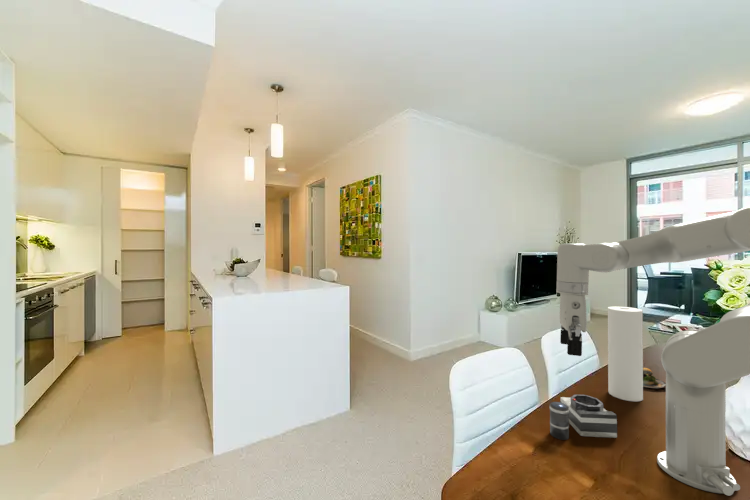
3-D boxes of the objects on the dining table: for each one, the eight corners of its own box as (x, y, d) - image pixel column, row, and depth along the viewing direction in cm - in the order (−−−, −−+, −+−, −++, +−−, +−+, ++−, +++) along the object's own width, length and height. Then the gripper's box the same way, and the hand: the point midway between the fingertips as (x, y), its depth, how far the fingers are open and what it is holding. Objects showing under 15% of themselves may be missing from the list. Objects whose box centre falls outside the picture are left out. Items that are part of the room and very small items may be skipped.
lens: (572, 440, 86) (572, 409, 86) (554, 439, 86) (553, 408, 86) (564, 430, 90) (564, 401, 90) (546, 429, 91) (546, 400, 91)
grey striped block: (617, 437, 87) (617, 410, 86) (580, 436, 88) (580, 409, 87) (591, 414, 99) (591, 391, 99) (560, 413, 100) (560, 389, 99)
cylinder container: (649, 402, 106) (649, 310, 106) (617, 400, 108) (616, 309, 108) (632, 390, 115) (632, 305, 115) (603, 388, 117) (602, 304, 117)
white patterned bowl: (620, 383, 121) (620, 363, 121) (630, 376, 128) (630, 357, 128) (662, 395, 112) (662, 373, 112) (671, 386, 119) (671, 365, 119)
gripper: (597, 293, 81) (595, 362, 81) (580, 285, 97) (578, 342, 97) (562, 291, 83) (560, 357, 84) (551, 283, 99) (550, 339, 100)
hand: (570, 349), depth 90 cm, fingers open, 9 cm apart
